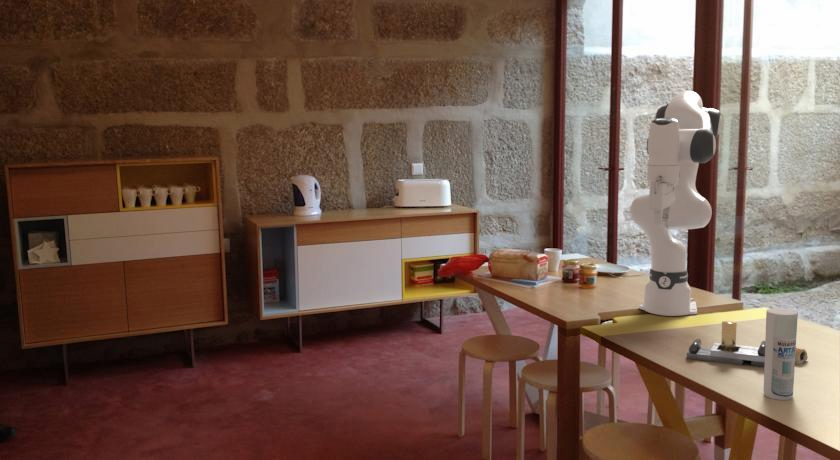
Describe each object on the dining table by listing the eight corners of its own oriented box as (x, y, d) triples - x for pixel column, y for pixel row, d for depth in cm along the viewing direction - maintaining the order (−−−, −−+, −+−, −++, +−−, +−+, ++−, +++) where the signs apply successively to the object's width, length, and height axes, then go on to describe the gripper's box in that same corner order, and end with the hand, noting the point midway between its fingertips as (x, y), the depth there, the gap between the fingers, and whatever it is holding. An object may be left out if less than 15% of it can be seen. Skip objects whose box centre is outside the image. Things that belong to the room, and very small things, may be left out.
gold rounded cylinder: (721, 356, 212) (723, 320, 210) (736, 358, 210) (737, 321, 209) (719, 359, 209) (721, 323, 207) (734, 361, 207) (735, 324, 206)
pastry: (762, 358, 210) (763, 344, 210) (774, 353, 214) (775, 339, 214) (798, 366, 203) (798, 352, 202) (809, 361, 207) (810, 347, 207)
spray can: (782, 389, 185) (786, 307, 183) (799, 399, 179) (804, 313, 176) (757, 391, 184) (760, 308, 182) (773, 401, 178) (777, 315, 175)
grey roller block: (686, 358, 211) (687, 340, 210) (691, 350, 218) (692, 332, 217) (767, 368, 201) (768, 349, 200) (770, 359, 208) (771, 341, 207)
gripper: (667, 178, 214) (665, 228, 216) (681, 172, 232) (679, 219, 234) (643, 177, 217) (642, 226, 219) (659, 172, 235) (658, 218, 237)
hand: (662, 222), depth 227 cm, fingers open, 8 cm apart
